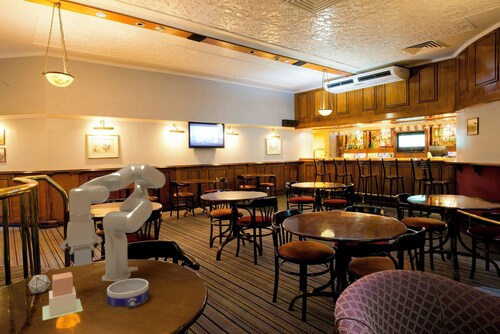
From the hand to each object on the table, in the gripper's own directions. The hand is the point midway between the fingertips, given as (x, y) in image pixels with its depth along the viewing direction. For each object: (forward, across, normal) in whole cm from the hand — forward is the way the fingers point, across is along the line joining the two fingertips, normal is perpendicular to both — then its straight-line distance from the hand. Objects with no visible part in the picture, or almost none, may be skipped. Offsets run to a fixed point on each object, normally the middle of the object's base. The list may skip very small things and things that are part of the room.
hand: (82, 260), depth 125 cm
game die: (+14, +15, -11) cm, 23 cm away
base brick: (+12, +8, +13) cm, 20 cm away
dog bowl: (+14, -14, +17) cm, 26 cm away
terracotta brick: (+6, +8, +13) cm, 16 cm away
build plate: (+13, +8, +13) cm, 20 cm away
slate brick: (+1, 0, 0) cm, 1 cm away
